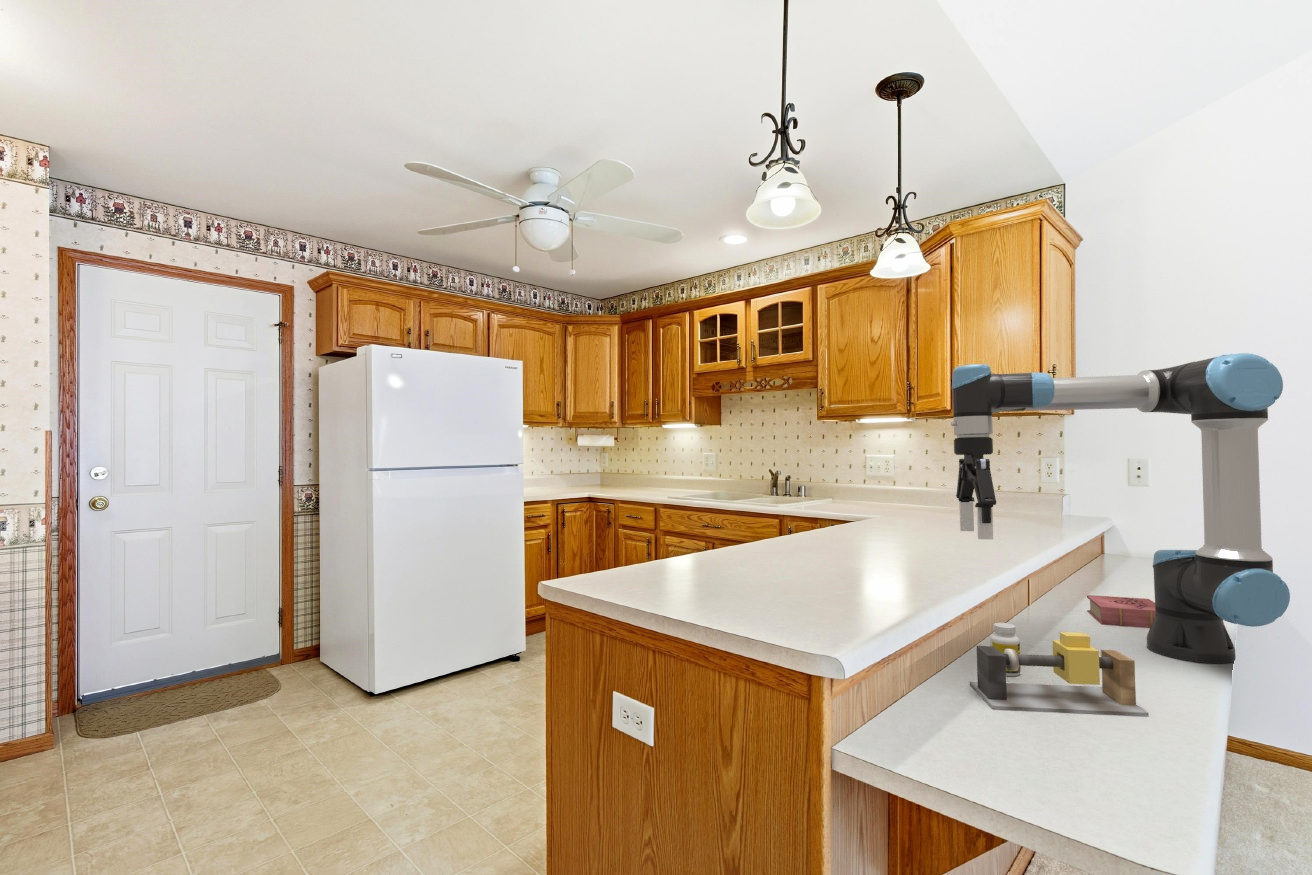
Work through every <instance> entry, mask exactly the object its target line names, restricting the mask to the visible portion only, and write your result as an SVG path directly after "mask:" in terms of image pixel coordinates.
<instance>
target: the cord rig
mask: <svg viewBox="0 0 1312 875" xmlns="http://www.w3.org/2000/svg"><path fill="white" fill-rule="evenodd" d="M1100 650H1101V651H1100V654H1101V655H1100V656H1099V670H1100V669H1101V682H1102V683H1101V684H1102V685H1101V686H1096V685H1094V686H1093V685H1092V686H1090V685H1070V684H1069V685H1064V684H1062V685H1061V684H1041V683H1039V684H1037V683H1019V682H1018V683H1015V682H1014V683H1012V682H1007V676H1006V668H1007V669H1008V670H1013V671H1017V670H1018V667H1019V666H1020V667H1021V666H1022V667H1023V666H1024V667H1050V668H1053V667H1064V656H1057V655H1053V654H1024V653H1022V654H1021V653H1020V654H1017V653H1016V651H1015V650H1014V649H1005V650H1004V654H1002V653H1001V652H1000V651H998V650H997V649H996V648H995V647H994V646H990V645H976V671H977V672H976V673H977V676H976V677H977V678H976V679H977V681H969V686H971V687H972V689H973V690H974V691H975V692H976V693H977V694H978V695H979V696H980V697H981V698H982V700H983V701H984V702H985V703H986V704H987V705H988V706H989V707H990V708H991V710H1003V711H1004V710H1005V711H1023V712H1024V711H1025V712H1027V711H1028V712H1042V713H1043V712H1047V713H1064V714H1065V713H1066V714H1068V713H1070V714H1088V715H1089V714H1090V715H1091V714H1093V715H1107V716H1109V715H1110V716H1111V715H1112V716H1131V717H1132V716H1134V717H1149V715H1150V714H1149V712H1147V711H1146V710H1145V709H1144V708H1142V707H1140V706H1139V705H1137V696H1136V695H1137V694H1136V693H1137V692H1136V691H1137V690H1136V672H1135V671H1136V669H1135V667H1136V666H1135V660H1134V659H1132V658H1131V657H1129V656H1127V655H1125V654H1123V653H1121V652H1119V651H1118V650H1116V649H1100Z"/></svg>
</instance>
